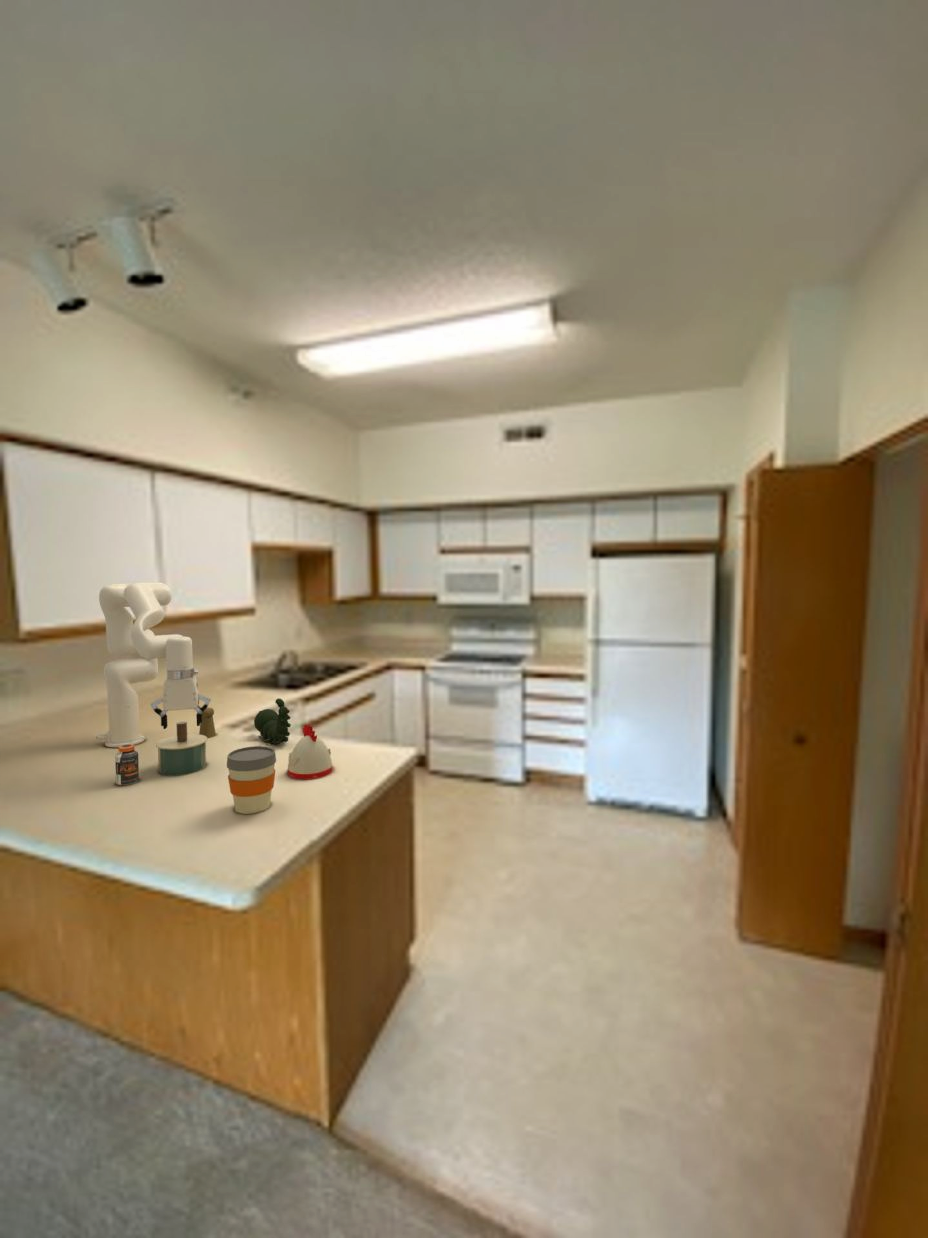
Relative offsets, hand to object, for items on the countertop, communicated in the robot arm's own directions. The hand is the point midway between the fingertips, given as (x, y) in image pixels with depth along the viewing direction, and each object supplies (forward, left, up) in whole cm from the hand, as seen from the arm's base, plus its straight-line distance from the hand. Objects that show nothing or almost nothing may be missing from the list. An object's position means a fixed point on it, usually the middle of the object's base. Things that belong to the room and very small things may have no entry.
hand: (182, 726), depth 171 cm
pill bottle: (-14, -8, -14) cm, 21 cm away
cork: (+4, +36, -14) cm, 39 cm away
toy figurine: (+28, +21, -14) cm, 38 cm away
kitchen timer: (+39, -17, -14) cm, 45 cm away
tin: (0, 0, -14) cm, 14 cm away
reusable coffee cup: (+22, -39, -14) cm, 47 cm away
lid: (0, 0, -5) cm, 5 cm away
